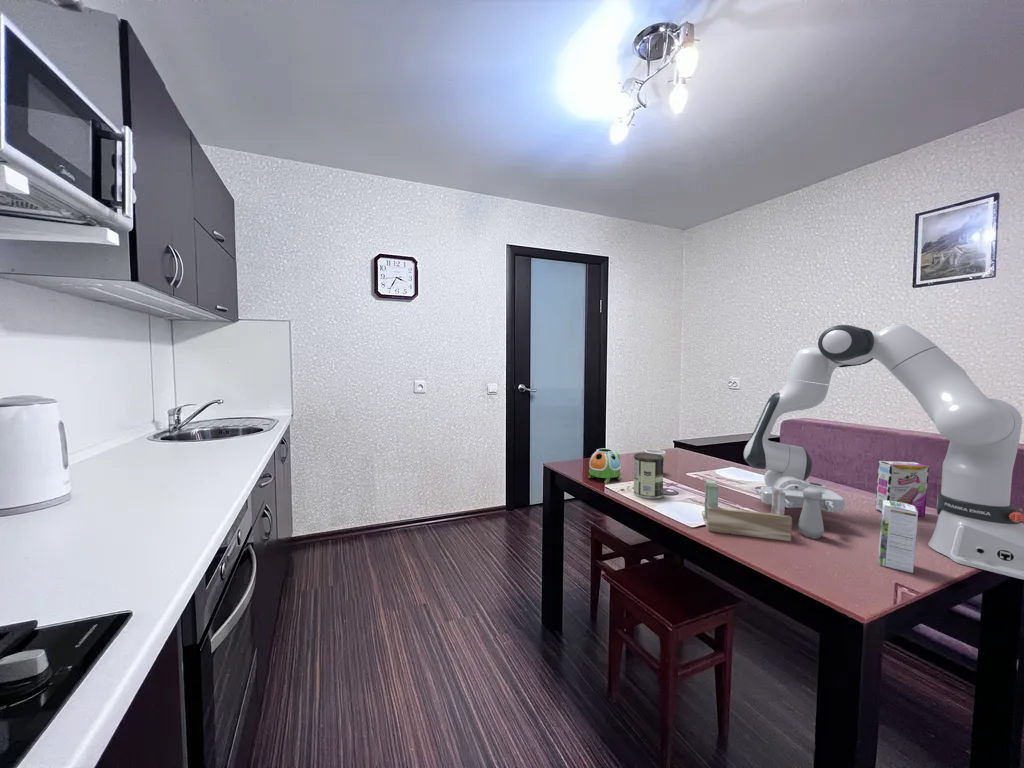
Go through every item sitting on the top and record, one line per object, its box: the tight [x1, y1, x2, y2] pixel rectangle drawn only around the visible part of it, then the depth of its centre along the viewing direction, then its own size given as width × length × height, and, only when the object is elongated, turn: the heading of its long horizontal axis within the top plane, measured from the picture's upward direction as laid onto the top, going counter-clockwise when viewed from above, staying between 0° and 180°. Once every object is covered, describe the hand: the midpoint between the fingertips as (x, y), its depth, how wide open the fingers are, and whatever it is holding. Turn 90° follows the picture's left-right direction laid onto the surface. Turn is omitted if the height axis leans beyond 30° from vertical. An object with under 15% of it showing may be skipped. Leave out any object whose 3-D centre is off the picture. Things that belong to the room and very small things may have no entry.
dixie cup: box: [644, 448, 666, 464], centre depth 168 cm, size 8×8×10 cm
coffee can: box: [632, 452, 665, 500], centre depth 141 cm, size 10×10×14 cm
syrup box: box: [878, 500, 919, 574], centre depth 92 cm, size 6×6×14 cm
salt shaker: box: [797, 488, 825, 540], centre depth 107 cm, size 6×6×13 cm
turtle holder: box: [588, 447, 622, 484], centre depth 162 cm, size 12×18×12 cm
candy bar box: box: [874, 460, 930, 518], centre depth 124 cm, size 11×5×16 cm, turn 84°
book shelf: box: [701, 479, 793, 542], centre depth 113 cm, size 12×20×12 cm, turn 72°
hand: (810, 507), depth 108 cm, fingers open, 8 cm apart
